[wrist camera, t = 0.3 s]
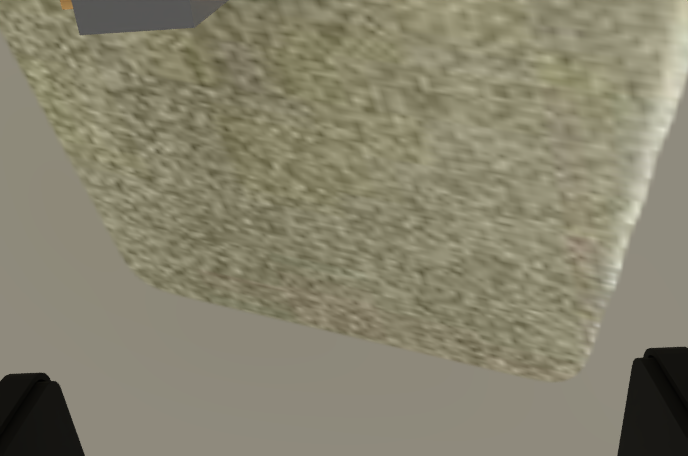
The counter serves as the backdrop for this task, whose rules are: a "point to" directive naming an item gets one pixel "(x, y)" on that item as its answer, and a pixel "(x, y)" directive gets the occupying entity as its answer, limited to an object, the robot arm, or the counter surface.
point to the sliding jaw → (139, 14)
